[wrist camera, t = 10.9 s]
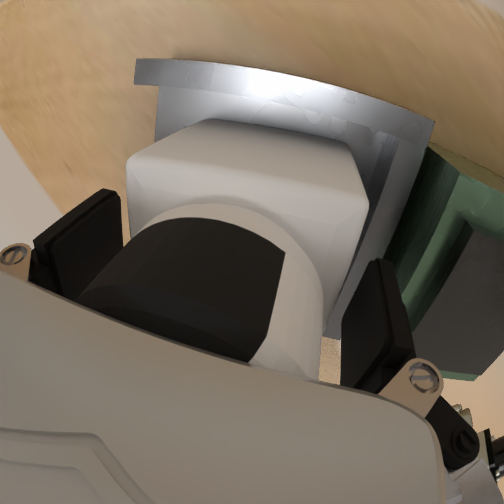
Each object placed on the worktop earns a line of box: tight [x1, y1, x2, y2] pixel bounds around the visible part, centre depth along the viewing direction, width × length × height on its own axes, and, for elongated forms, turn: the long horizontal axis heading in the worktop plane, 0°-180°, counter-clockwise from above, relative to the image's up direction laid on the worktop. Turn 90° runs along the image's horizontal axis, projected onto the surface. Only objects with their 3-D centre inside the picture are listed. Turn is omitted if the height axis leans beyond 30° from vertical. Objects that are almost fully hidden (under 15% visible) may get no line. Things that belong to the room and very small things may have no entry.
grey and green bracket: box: [134, 58, 504, 381], centre depth 13 cm, size 21×12×7 cm, turn 80°
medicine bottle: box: [75, 119, 369, 380], centre depth 11 cm, size 7×7×12 cm
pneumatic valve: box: [452, 404, 504, 486], centre depth 20 cm, size 6×12×12 cm, turn 131°
